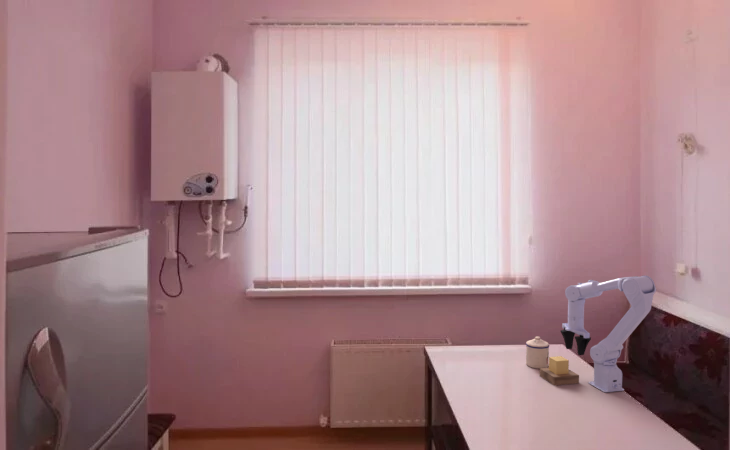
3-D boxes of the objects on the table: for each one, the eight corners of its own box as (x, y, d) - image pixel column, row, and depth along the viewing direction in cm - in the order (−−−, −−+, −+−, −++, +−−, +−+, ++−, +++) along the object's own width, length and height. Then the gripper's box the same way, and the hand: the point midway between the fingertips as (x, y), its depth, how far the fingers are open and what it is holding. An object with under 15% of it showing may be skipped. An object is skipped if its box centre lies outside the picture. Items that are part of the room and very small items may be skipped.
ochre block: (568, 373, 198) (568, 360, 198) (556, 374, 197) (556, 361, 197) (560, 369, 203) (561, 356, 203) (548, 370, 202) (549, 357, 202)
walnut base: (578, 383, 197) (579, 375, 196) (554, 385, 195) (554, 377, 194) (563, 373, 206) (563, 366, 206) (539, 376, 204) (539, 368, 204)
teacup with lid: (552, 368, 212) (552, 340, 211) (529, 369, 212) (529, 340, 211) (542, 359, 224) (542, 331, 223) (520, 359, 224) (520, 332, 223)
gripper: (555, 312, 209) (554, 346, 210) (578, 321, 195) (577, 358, 196) (571, 311, 210) (570, 345, 211) (595, 320, 196) (594, 357, 197)
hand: (574, 351), depth 204 cm, fingers open, 7 cm apart
